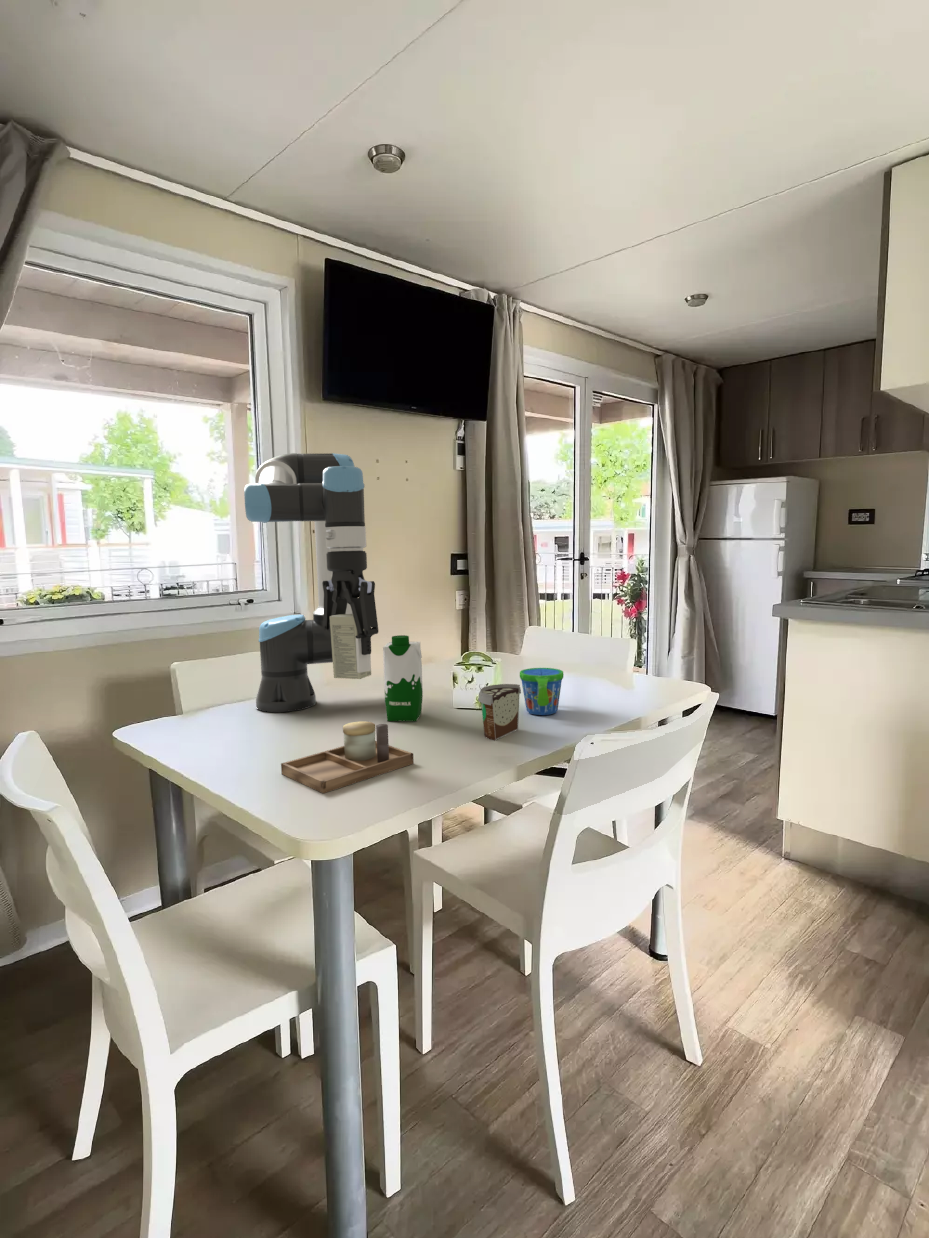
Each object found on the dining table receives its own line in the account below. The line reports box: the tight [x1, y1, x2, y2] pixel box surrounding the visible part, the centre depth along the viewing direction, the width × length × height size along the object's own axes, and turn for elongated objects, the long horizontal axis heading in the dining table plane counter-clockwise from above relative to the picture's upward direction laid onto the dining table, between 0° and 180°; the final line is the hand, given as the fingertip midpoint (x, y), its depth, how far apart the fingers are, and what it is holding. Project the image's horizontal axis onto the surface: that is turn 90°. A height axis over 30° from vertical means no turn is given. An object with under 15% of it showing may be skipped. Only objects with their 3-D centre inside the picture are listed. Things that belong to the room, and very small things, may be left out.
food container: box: [477, 683, 522, 741], centre depth 144 cm, size 12×6×10 cm, turn 145°
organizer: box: [280, 721, 414, 794], centre depth 123 cm, size 14×20×8 cm
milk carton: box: [382, 634, 424, 722], centre depth 157 cm, size 9×9×20 cm
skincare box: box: [330, 614, 372, 680], centre depth 127 cm, size 6×4×12 cm
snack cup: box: [519, 667, 564, 716], centre depth 160 cm, size 16×10×10 cm
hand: (351, 668), depth 127 cm, fingers closed on skincare box, 7 cm apart
